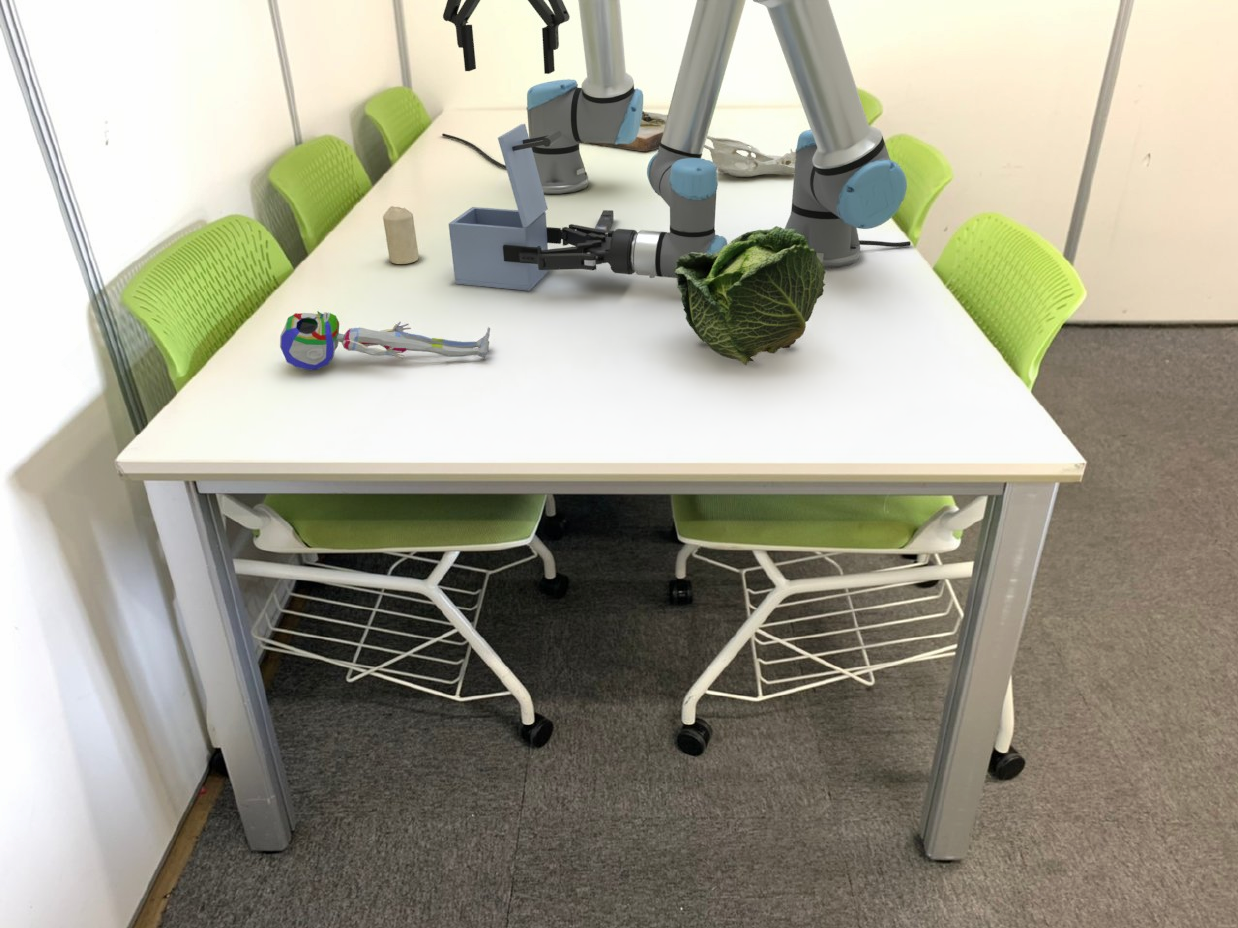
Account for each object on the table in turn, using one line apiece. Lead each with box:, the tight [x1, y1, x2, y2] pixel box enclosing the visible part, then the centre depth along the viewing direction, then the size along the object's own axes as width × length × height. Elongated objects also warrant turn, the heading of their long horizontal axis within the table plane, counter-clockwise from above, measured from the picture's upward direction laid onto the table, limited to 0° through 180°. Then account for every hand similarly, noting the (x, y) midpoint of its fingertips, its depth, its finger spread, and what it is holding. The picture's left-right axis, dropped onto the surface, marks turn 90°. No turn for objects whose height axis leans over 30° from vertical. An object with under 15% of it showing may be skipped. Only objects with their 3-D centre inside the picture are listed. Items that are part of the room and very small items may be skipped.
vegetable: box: [674, 225, 826, 366], centre depth 131 cm, size 20×19×20 cm
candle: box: [382, 205, 420, 265], centre depth 169 cm, size 6×6×10 cm
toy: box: [279, 311, 491, 371], centre depth 133 cm, size 10×8×30 cm
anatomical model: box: [703, 135, 796, 178], centre depth 219 cm, size 15×9×25 cm
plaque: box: [584, 110, 668, 152], centre depth 257 cm, size 30×7×30 cm
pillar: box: [594, 209, 615, 231], centre depth 182 cm, size 2×2×20 cm
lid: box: [497, 123, 562, 227], centre depth 151 cm, size 15×10×8 cm
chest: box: [448, 206, 550, 292], centre depth 161 cm, size 14×10×11 cm
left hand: (509, 71), depth 144 cm, fingers open, 13 cm apart
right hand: (515, 243), depth 159 cm, fingers closed on chest, 10 cm apart
